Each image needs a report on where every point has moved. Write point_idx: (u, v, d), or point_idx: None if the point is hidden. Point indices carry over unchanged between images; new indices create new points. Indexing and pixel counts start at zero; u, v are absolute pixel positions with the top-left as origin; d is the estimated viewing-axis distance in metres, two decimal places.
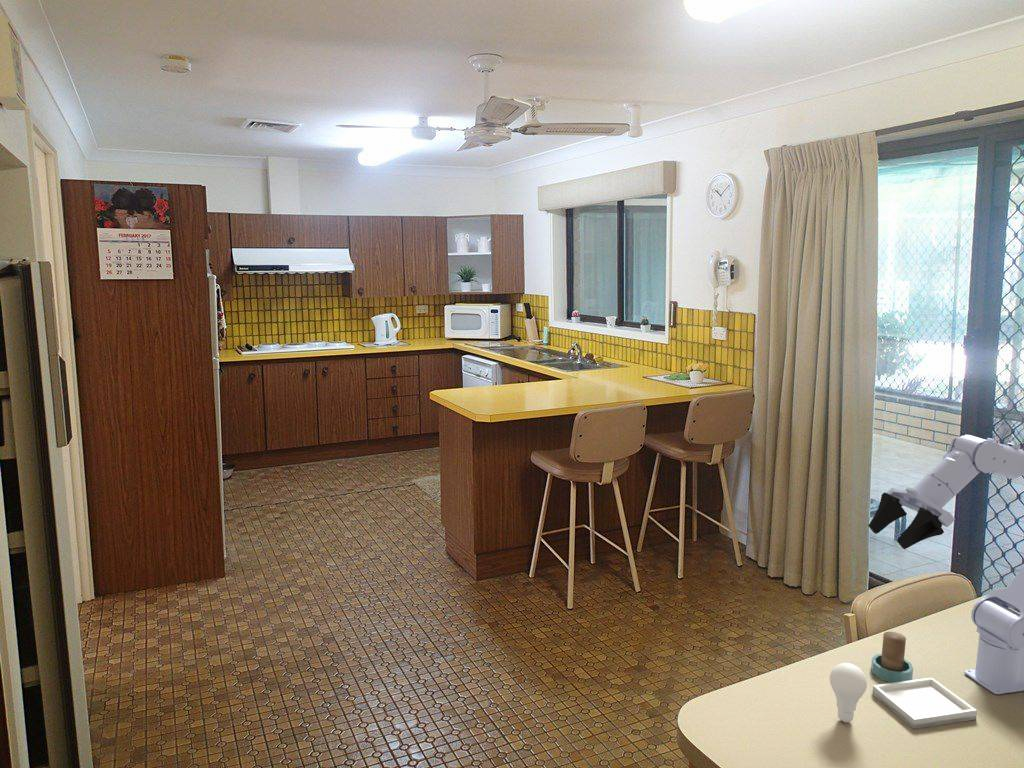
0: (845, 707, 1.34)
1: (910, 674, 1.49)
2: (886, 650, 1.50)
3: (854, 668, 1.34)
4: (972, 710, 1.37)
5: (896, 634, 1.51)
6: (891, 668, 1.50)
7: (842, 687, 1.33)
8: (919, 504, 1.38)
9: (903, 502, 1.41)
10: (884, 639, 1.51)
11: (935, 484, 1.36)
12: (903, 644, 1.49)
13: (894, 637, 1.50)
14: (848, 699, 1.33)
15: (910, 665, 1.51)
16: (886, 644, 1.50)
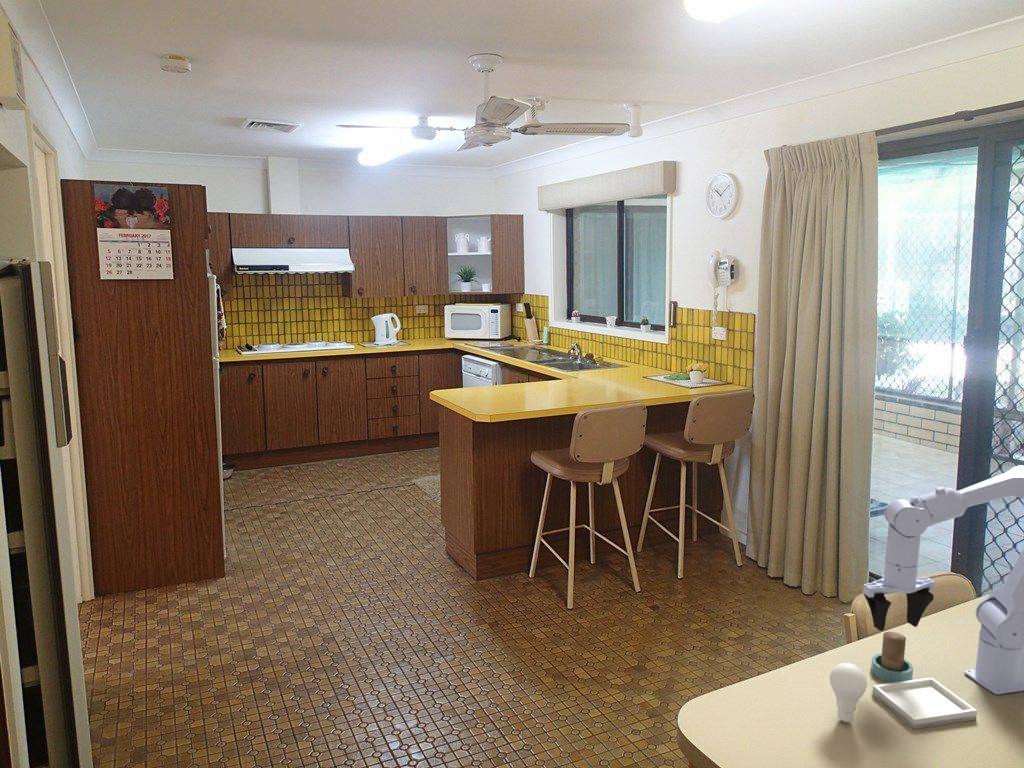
0: (845, 707, 1.34)
1: (910, 674, 1.49)
2: (886, 650, 1.50)
3: (854, 668, 1.34)
4: (972, 710, 1.37)
5: (896, 634, 1.51)
6: (891, 668, 1.50)
7: (842, 687, 1.33)
8: None
9: None
10: (884, 639, 1.51)
11: None
12: (903, 644, 1.49)
13: (894, 637, 1.50)
14: (848, 699, 1.33)
15: (910, 665, 1.51)
16: (886, 644, 1.50)
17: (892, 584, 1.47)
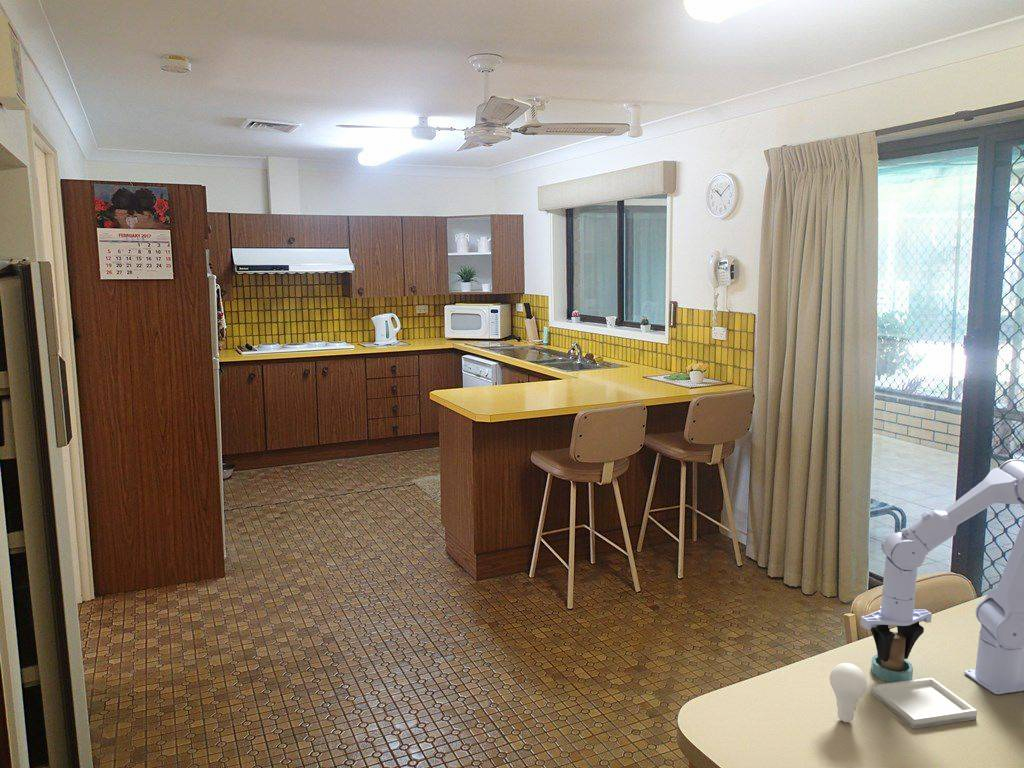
0: (845, 707, 1.34)
1: (910, 674, 1.49)
2: None
3: (855, 668, 1.34)
4: (972, 710, 1.37)
5: (896, 634, 1.51)
6: (891, 668, 1.50)
7: (842, 687, 1.33)
8: None
9: None
10: None
11: None
12: (903, 644, 1.49)
13: (894, 637, 1.50)
14: (848, 699, 1.33)
15: (910, 665, 1.51)
16: None
17: (889, 617, 1.48)
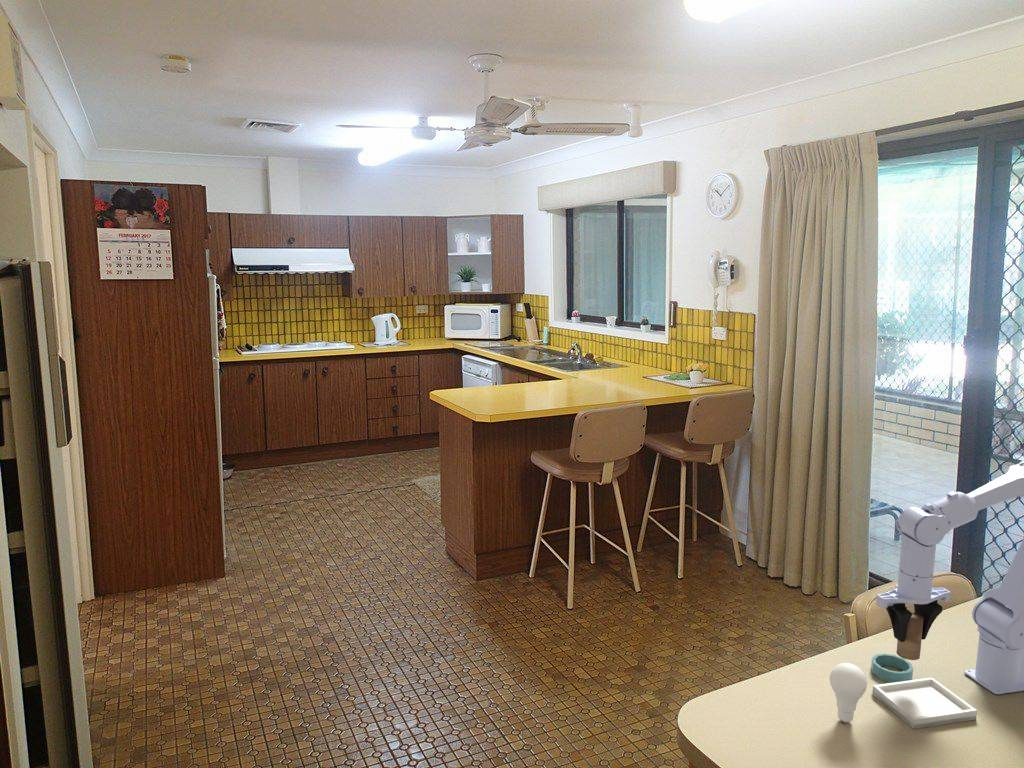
0: (845, 707, 1.34)
1: (910, 674, 1.49)
2: None
3: (854, 668, 1.34)
4: (972, 710, 1.37)
5: (913, 613, 1.45)
6: (908, 649, 1.44)
7: (842, 687, 1.33)
8: None
9: None
10: None
11: None
12: (921, 623, 1.43)
13: (911, 616, 1.44)
14: (848, 699, 1.33)
15: (910, 665, 1.51)
16: None
17: (906, 595, 1.42)
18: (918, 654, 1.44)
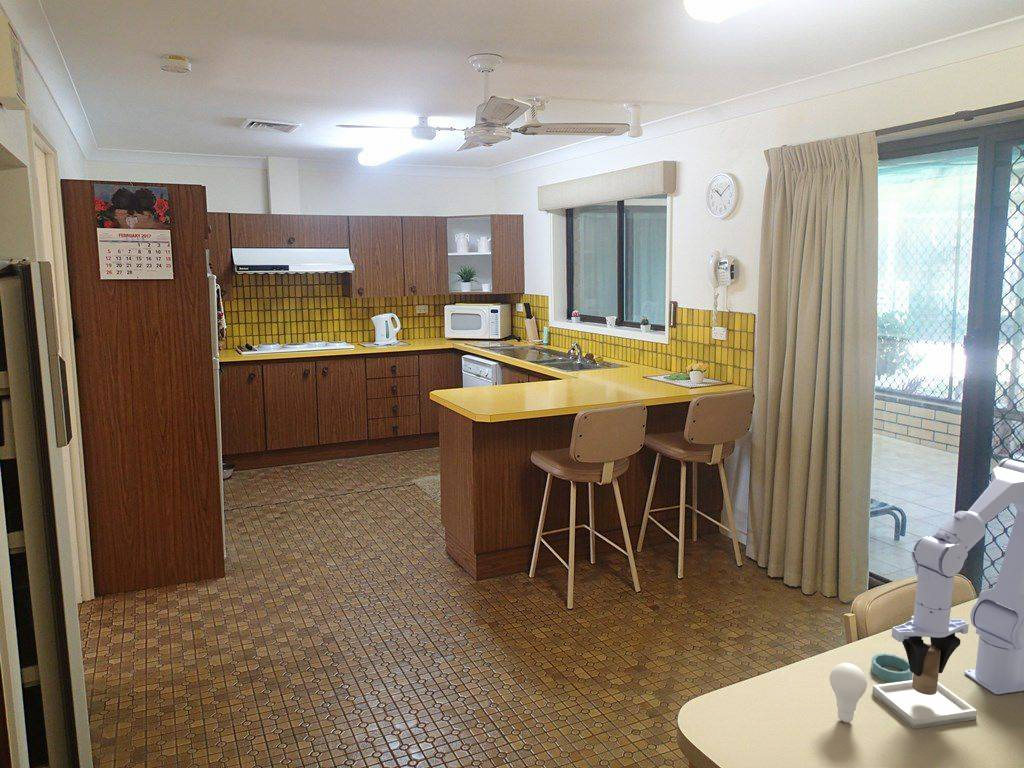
0: (845, 707, 1.34)
1: (910, 674, 1.49)
2: None
3: (855, 668, 1.34)
4: (972, 710, 1.37)
5: (930, 646, 1.40)
6: (925, 683, 1.38)
7: (842, 687, 1.33)
8: None
9: None
10: None
11: None
12: (938, 657, 1.37)
13: None
14: (848, 699, 1.33)
15: None
16: None
17: (923, 628, 1.36)
18: (935, 689, 1.38)
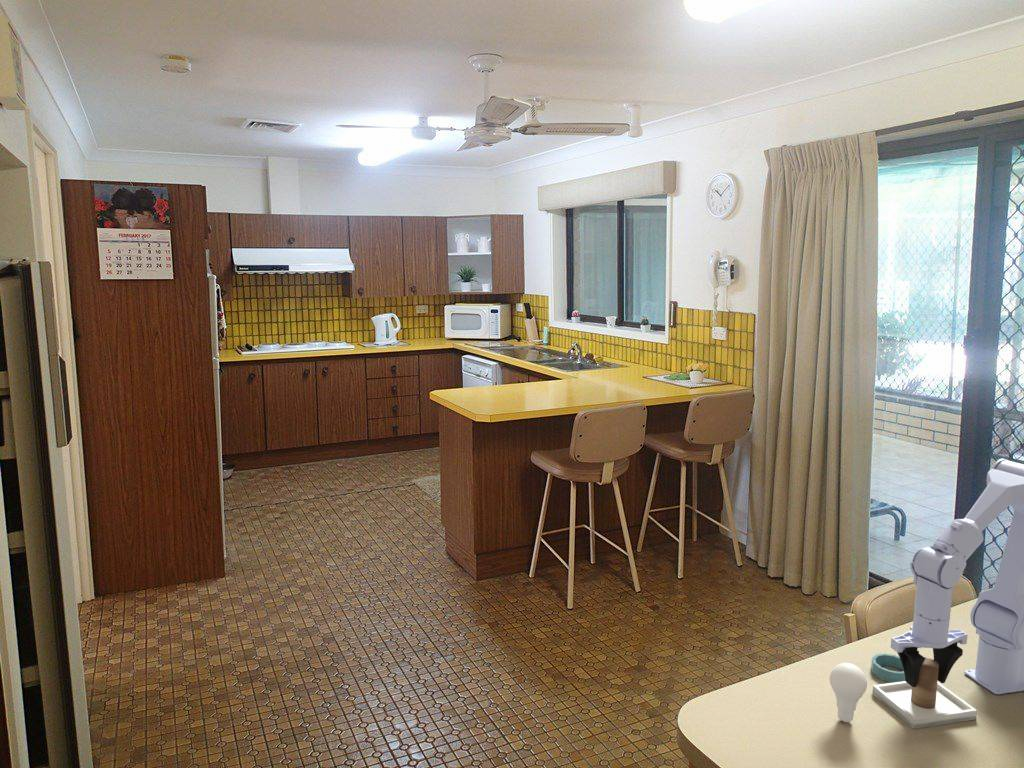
0: (845, 707, 1.34)
1: None
2: None
3: (855, 668, 1.34)
4: (972, 710, 1.37)
5: (928, 660, 1.40)
6: (923, 697, 1.39)
7: (842, 687, 1.33)
8: None
9: None
10: None
11: None
12: (936, 671, 1.38)
13: (926, 663, 1.39)
14: (848, 699, 1.33)
15: None
16: None
17: (922, 638, 1.37)
18: (934, 702, 1.39)
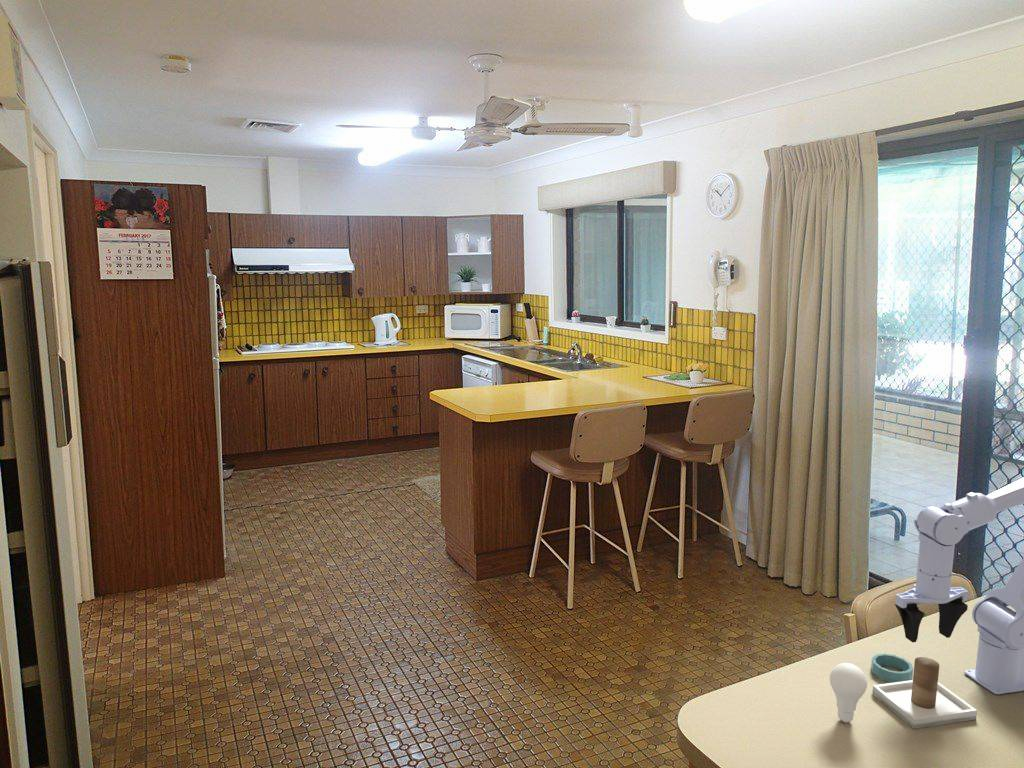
0: (845, 707, 1.34)
1: (910, 674, 1.49)
2: (918, 677, 1.39)
3: (855, 668, 1.34)
4: (972, 710, 1.37)
5: (928, 660, 1.40)
6: (923, 697, 1.39)
7: (842, 687, 1.33)
8: None
9: None
10: (916, 665, 1.39)
11: None
12: (936, 671, 1.38)
13: (926, 663, 1.39)
14: (848, 699, 1.33)
15: (910, 665, 1.51)
16: (918, 671, 1.39)
17: (925, 594, 1.42)
18: (934, 702, 1.39)
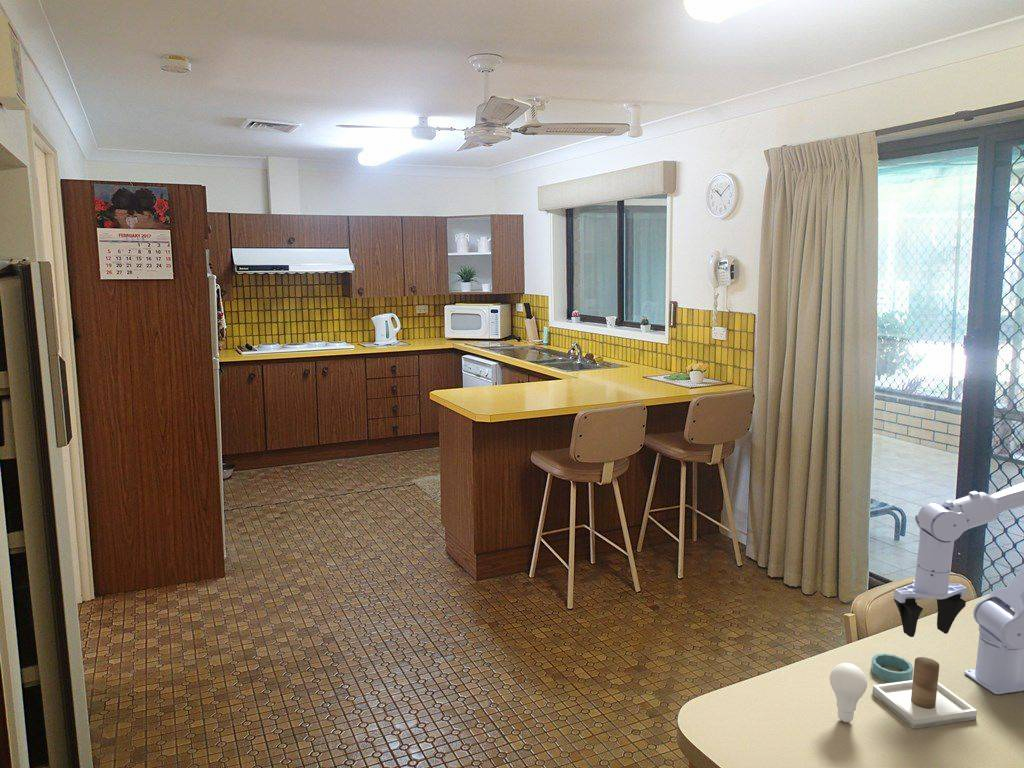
0: (845, 707, 1.34)
1: (910, 674, 1.49)
2: (918, 677, 1.39)
3: (855, 668, 1.34)
4: (972, 710, 1.37)
5: (928, 660, 1.40)
6: (923, 697, 1.39)
7: (842, 687, 1.33)
8: None
9: None
10: (916, 665, 1.39)
11: None
12: (936, 671, 1.38)
13: (926, 663, 1.39)
14: (848, 699, 1.33)
15: (910, 665, 1.51)
16: (918, 671, 1.39)
17: (924, 590, 1.44)
18: (934, 702, 1.39)
